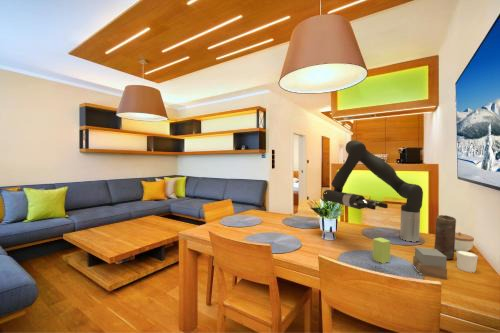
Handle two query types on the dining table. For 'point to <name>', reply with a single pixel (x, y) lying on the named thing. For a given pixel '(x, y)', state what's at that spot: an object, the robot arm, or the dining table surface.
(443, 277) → the walnut base block
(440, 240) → the candle
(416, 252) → the charcoal top block
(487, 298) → the dining table surface
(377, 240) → the lime pillar
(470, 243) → the lidded jar
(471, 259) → the white short cylinder
